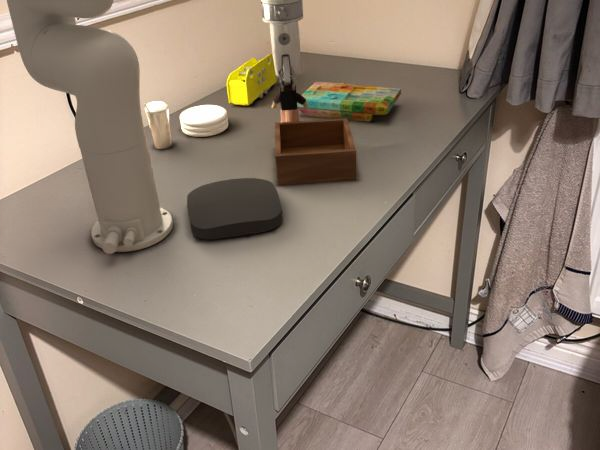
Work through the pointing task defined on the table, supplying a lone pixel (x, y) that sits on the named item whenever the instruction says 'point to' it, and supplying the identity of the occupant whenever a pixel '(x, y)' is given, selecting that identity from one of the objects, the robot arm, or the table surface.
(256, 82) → the yellow toy chassis
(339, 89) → the puzzle game
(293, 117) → the grandmother figurine
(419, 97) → the table surface
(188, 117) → the white short cylinder
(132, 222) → the robot arm
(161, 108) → the milkshake
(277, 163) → the crate
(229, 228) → the media streaming box
